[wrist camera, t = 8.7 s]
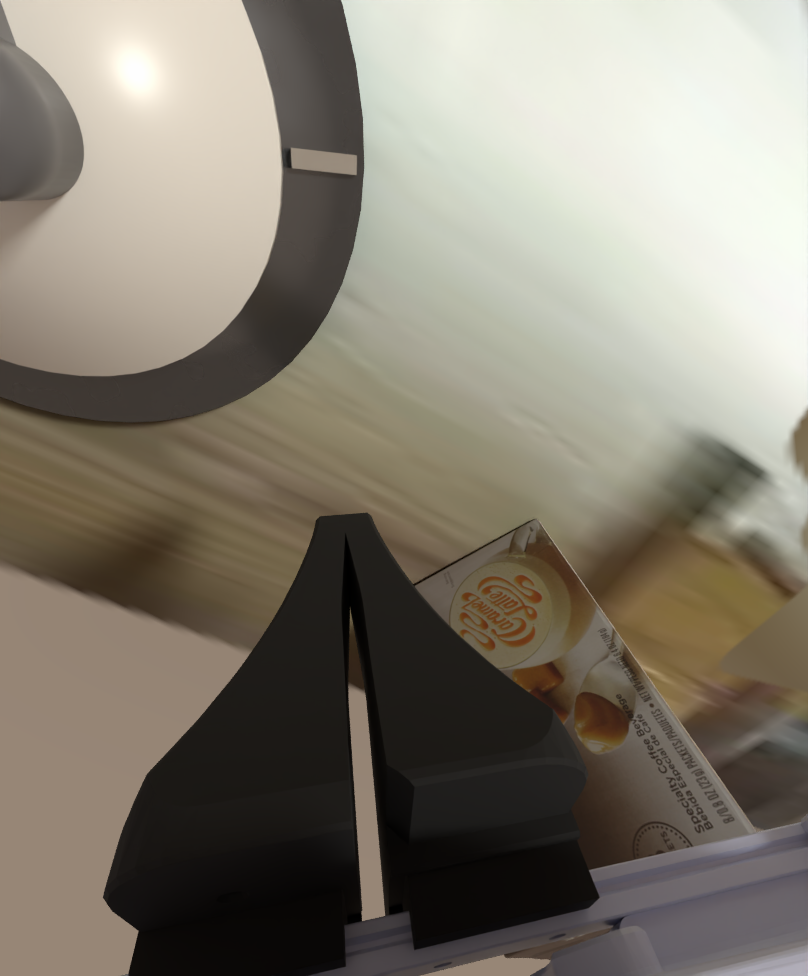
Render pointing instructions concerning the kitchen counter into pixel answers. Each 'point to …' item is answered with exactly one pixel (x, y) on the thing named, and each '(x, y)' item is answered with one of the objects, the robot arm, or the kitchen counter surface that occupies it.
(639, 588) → the kitchen counter surface
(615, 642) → the coffee box
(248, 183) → the dial
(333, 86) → the dial plate
